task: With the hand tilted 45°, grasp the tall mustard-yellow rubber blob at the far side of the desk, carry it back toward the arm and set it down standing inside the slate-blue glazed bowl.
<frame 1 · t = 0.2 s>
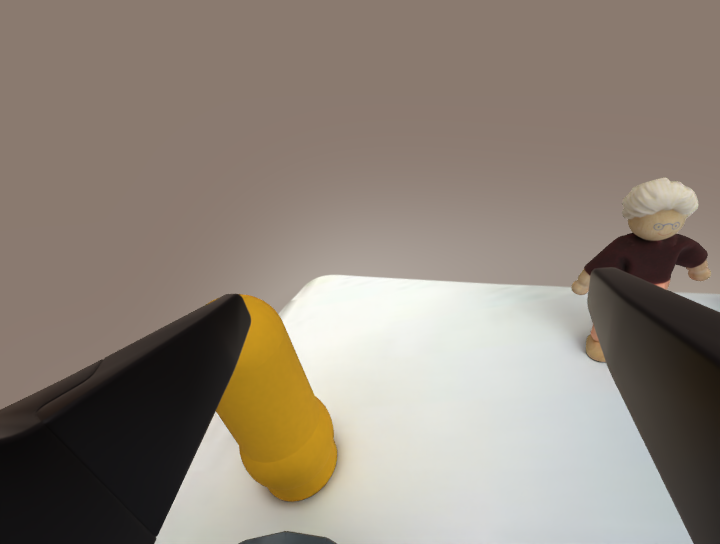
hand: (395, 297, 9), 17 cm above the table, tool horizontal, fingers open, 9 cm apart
grandmother figurine: (626, 348, 26), on the table
yellow blob: (301, 461, 24), on the table
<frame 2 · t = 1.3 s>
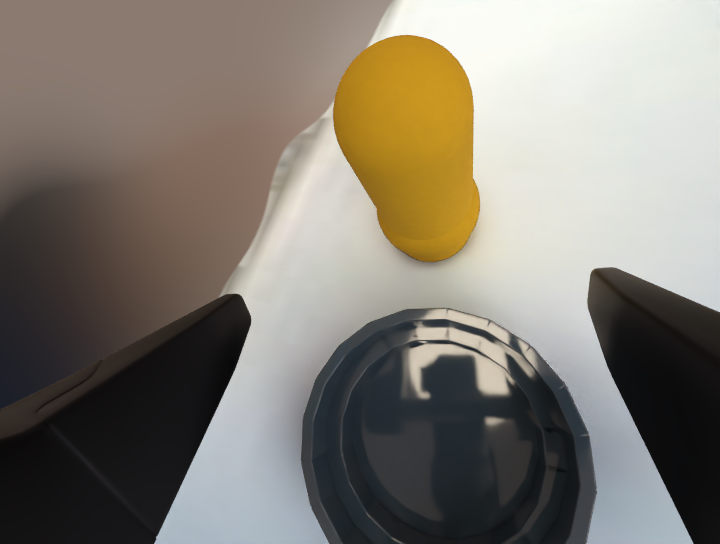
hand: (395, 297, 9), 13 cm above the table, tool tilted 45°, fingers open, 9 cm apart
yellow blob: (432, 225, 23), on the table
slate bowl: (439, 431, 20), on the table
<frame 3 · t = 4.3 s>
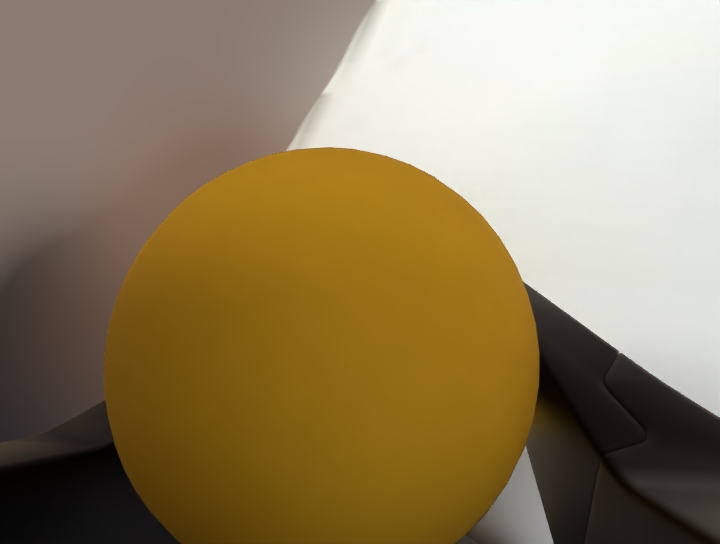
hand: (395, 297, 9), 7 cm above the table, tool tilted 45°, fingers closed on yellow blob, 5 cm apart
yellow blob: (426, 355, 15), on the table, touching gripper
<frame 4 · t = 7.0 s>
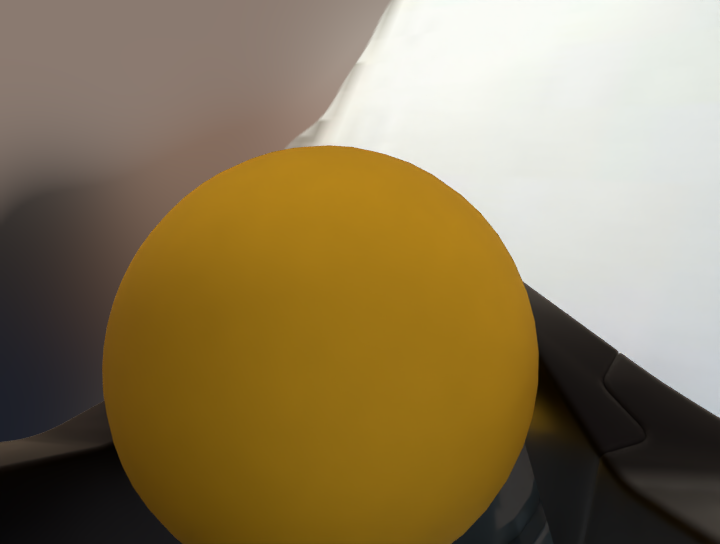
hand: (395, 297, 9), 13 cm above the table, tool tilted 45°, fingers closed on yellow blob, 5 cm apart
yellow blob: (425, 355, 15), point 6 cm above the table, touching gripper
slate bowl: (442, 447, 20), on the table
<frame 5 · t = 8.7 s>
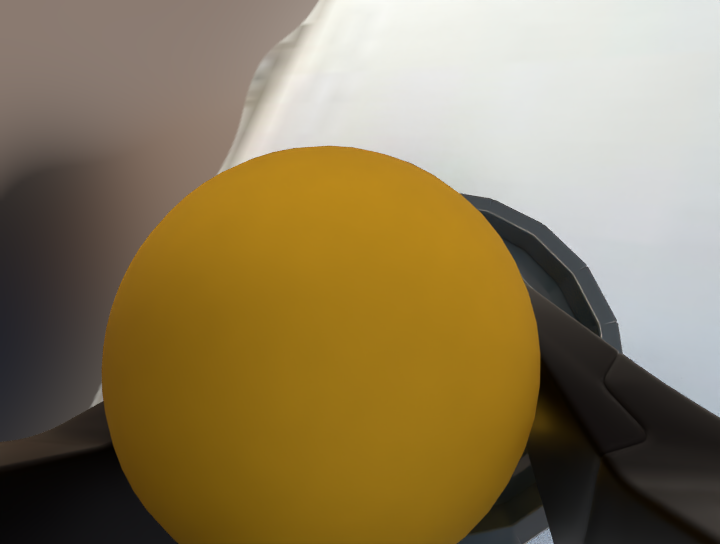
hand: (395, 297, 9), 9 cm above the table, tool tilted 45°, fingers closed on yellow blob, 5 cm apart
yellow blob: (426, 355, 15), point 2 cm above the table, touching gripper
slate bowl: (432, 354, 17), on the table
when the fingers open (7 cm above the table, at t = 9.8 s): yellow blob stays where it is, resting on slate bowl.
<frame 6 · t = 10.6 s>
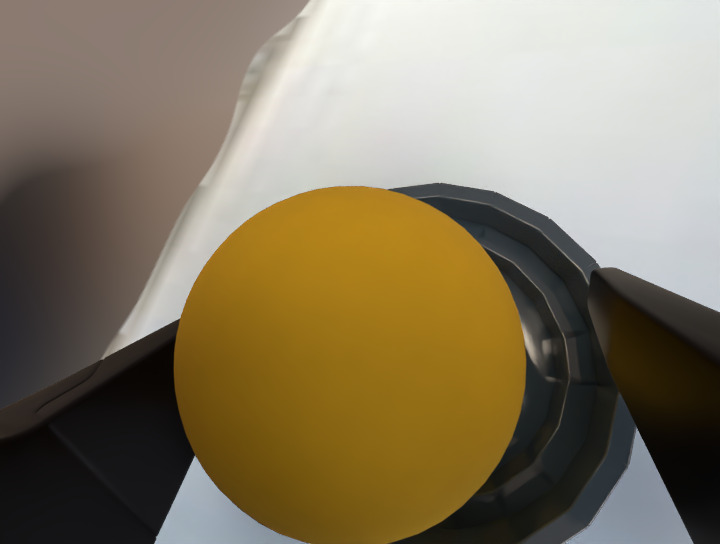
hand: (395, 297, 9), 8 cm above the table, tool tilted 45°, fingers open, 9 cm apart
yellow blob: (428, 357, 16), point 1 cm above the table, touching slate bowl
slate bowl: (431, 357, 16), on the table
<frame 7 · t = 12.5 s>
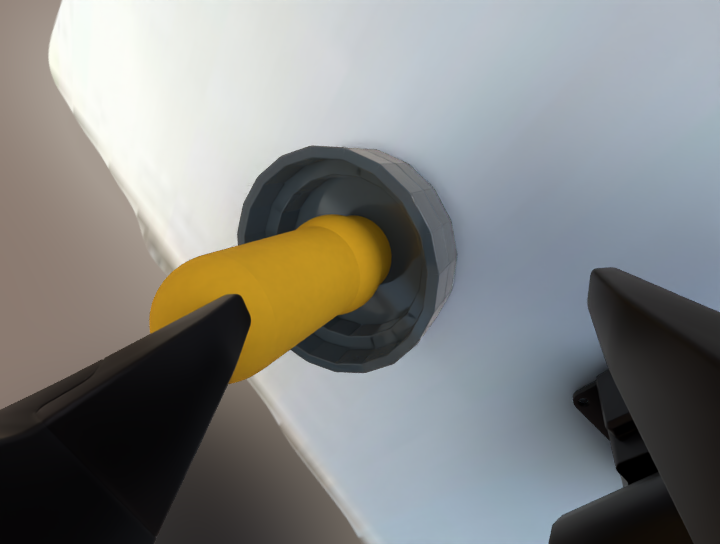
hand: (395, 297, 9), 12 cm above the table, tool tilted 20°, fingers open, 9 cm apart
yellow blob: (356, 253, 23), point 1 cm above the table, touching slate bowl
slate bowl: (360, 251, 24), on the table
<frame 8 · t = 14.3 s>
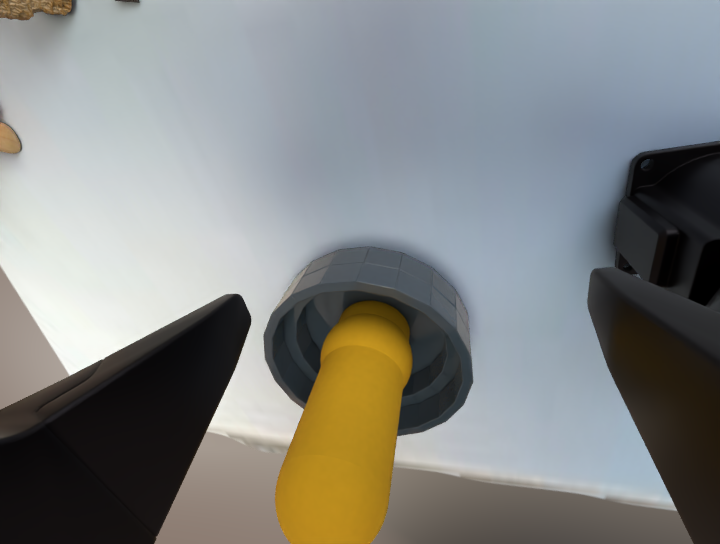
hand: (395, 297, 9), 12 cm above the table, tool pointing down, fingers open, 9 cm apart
yellow blob: (374, 329, 25), point 1 cm above the table, touching slate bowl
slate bowl: (374, 323, 26), on the table
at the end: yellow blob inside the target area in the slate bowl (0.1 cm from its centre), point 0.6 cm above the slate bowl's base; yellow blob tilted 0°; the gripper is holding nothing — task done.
